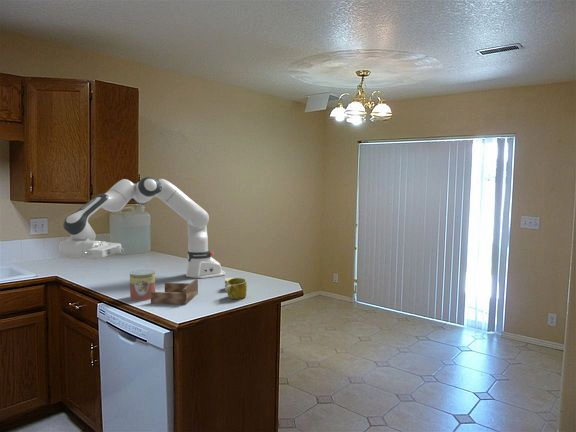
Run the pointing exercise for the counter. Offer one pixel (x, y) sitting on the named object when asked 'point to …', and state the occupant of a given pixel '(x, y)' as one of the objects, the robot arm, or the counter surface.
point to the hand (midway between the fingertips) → (122, 250)
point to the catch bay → (176, 293)
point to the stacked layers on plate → (226, 281)
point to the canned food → (142, 284)
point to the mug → (236, 288)
